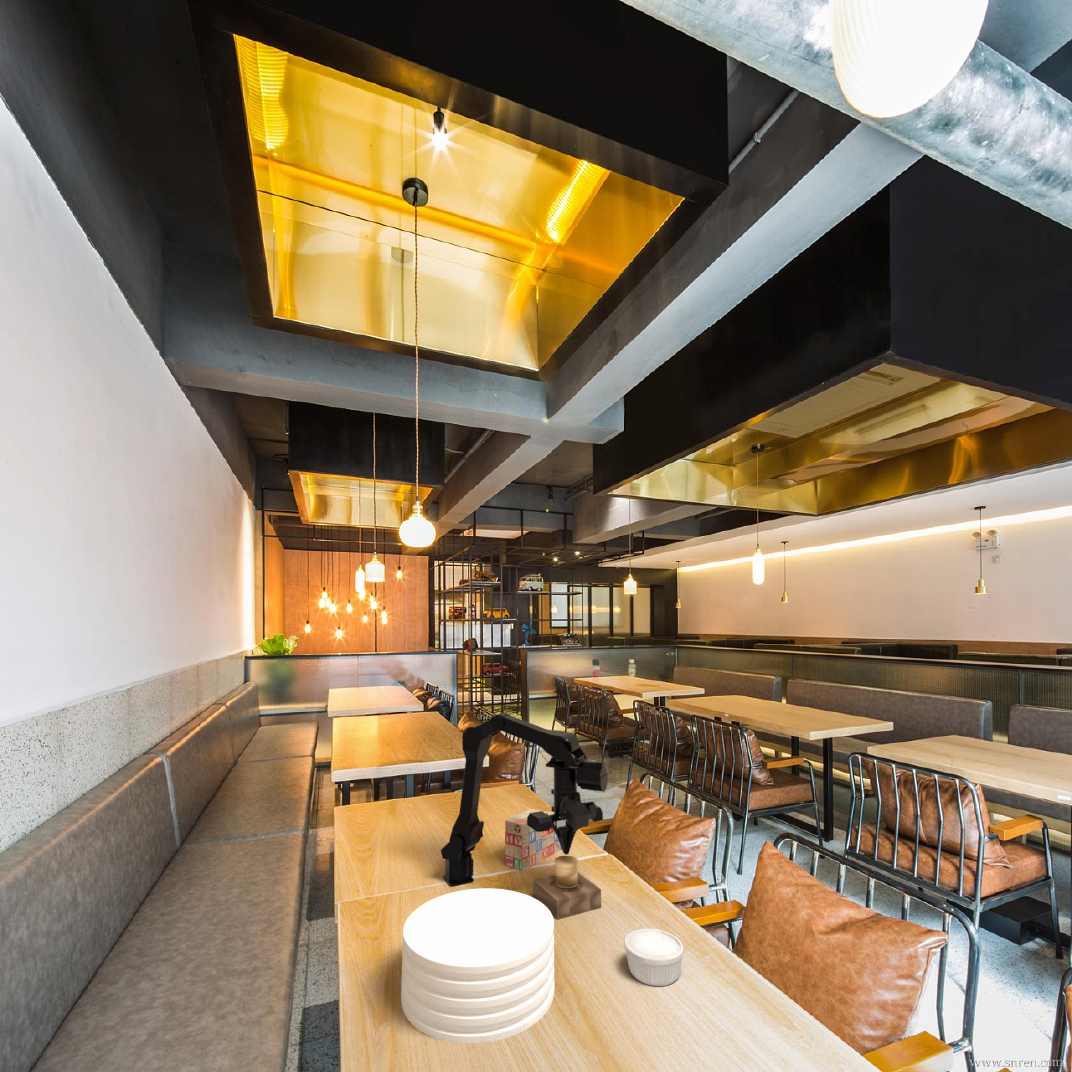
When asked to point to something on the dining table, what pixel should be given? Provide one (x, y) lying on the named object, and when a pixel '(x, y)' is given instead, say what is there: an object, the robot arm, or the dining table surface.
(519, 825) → the stack of blocks
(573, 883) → the peg
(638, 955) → the ramekin
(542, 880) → the board
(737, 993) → the dining table surface
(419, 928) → the plate stack
